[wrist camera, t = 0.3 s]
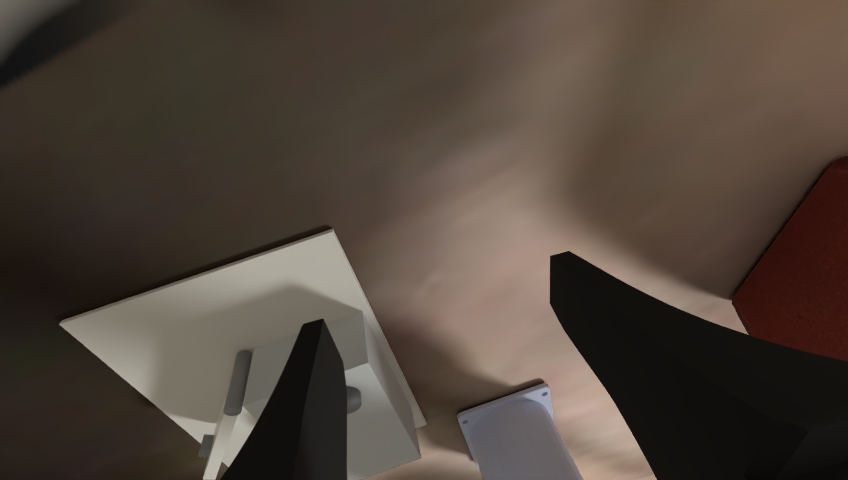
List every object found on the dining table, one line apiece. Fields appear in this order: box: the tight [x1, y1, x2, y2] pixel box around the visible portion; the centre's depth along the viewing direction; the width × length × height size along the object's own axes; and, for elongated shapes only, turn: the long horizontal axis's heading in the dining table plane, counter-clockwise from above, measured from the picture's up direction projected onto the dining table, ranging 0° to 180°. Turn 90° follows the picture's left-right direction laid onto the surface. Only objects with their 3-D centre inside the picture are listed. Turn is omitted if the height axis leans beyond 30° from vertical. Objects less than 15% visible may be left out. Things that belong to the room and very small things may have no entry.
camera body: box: [243, 311, 421, 480], centre depth 26 cm, size 11×8×5 cm
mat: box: [59, 229, 427, 467], centre depth 27 cm, size 20×15×1 cm
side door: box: [198, 350, 252, 480], centre depth 24 cm, size 8×1×4 cm, turn 155°
